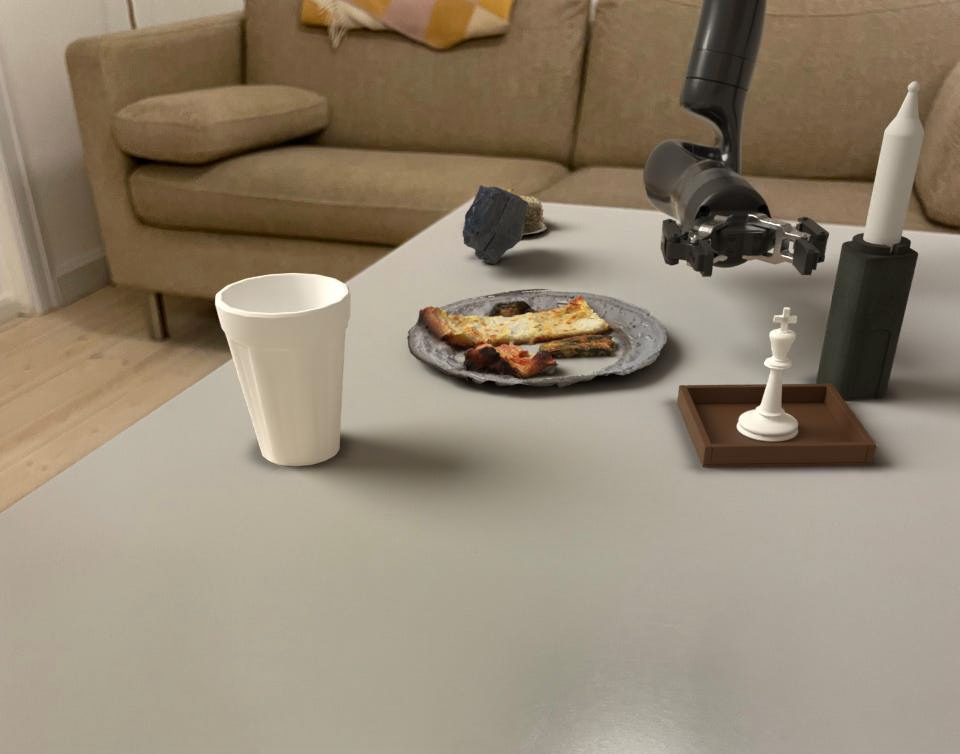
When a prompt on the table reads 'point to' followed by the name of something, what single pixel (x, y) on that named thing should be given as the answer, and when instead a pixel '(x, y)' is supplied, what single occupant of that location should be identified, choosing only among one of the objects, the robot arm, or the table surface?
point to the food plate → (534, 335)
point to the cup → (289, 360)
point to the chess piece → (773, 391)
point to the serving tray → (820, 441)
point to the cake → (532, 215)
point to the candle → (875, 271)
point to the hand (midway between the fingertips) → (759, 264)
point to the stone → (494, 223)
